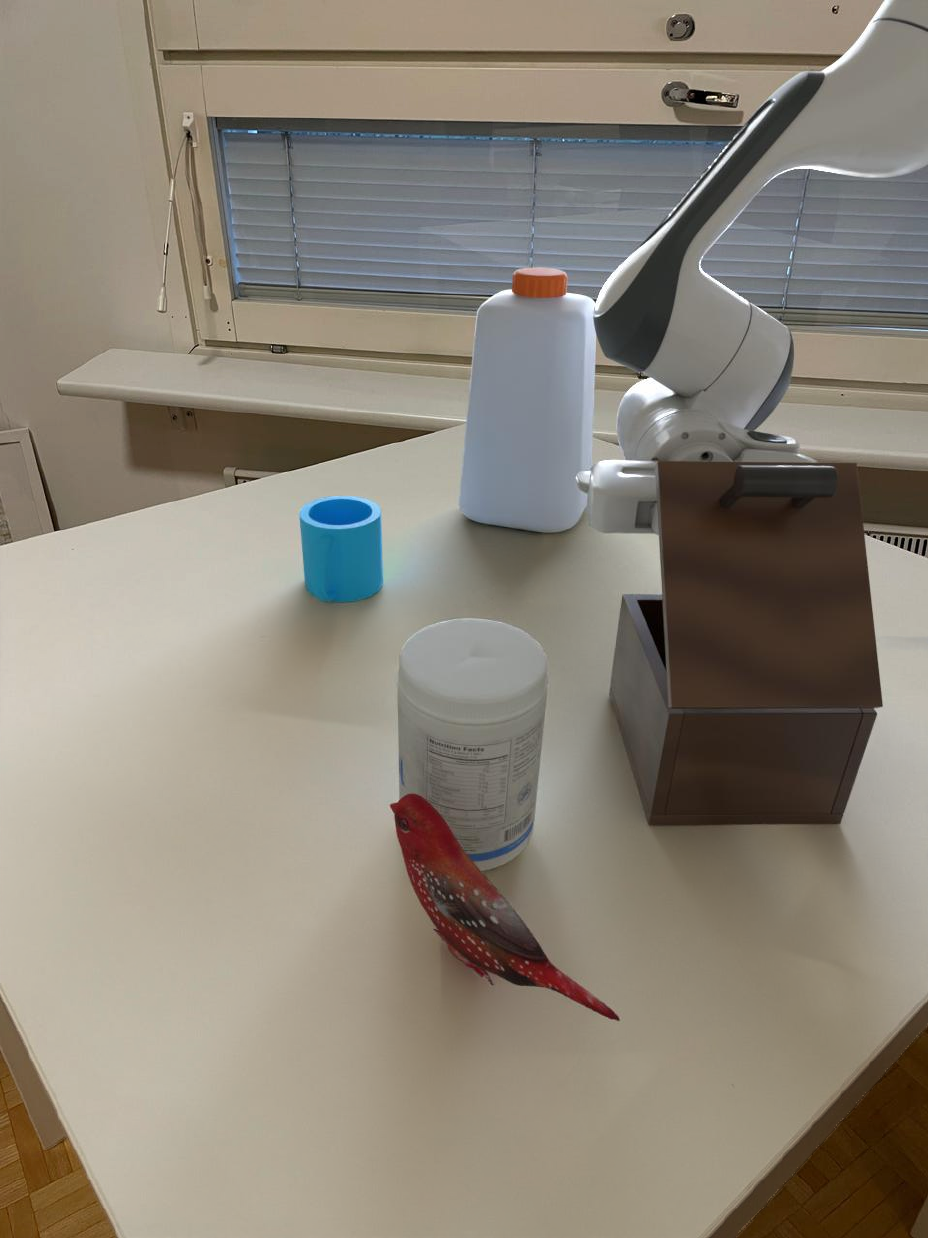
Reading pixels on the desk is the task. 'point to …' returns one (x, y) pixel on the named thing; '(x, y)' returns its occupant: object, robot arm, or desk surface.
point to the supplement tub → (474, 731)
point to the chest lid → (765, 586)
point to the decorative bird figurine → (474, 907)
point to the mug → (342, 548)
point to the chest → (726, 744)
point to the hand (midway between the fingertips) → (740, 541)
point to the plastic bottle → (530, 405)
